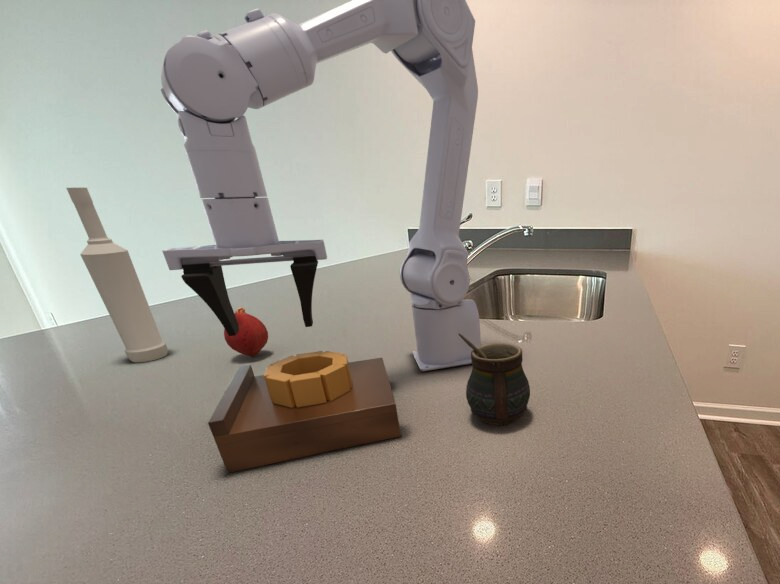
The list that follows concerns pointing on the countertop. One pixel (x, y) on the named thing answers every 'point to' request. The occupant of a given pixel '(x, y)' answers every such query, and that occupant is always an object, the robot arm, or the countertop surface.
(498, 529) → the countertop surface
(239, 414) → the shelf
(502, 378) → the mate gourd
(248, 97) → the robot arm
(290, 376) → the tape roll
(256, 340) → the red pomegranate
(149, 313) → the bottle
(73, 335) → the countertop surface
